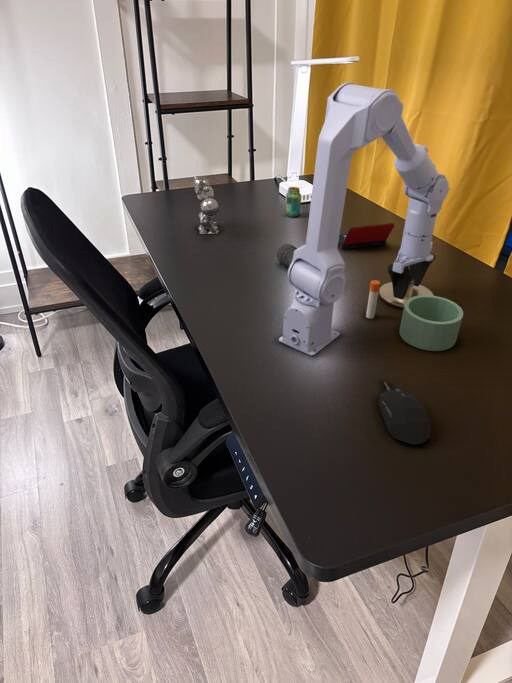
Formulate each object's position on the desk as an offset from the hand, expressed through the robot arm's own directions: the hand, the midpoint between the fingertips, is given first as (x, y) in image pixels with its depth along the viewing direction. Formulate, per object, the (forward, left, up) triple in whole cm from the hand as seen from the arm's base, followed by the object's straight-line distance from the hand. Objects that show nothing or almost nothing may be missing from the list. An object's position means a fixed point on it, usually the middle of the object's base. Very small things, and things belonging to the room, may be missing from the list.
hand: (406, 291), depth 109 cm
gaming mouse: (-35, -16, -2) cm, 39 cm away
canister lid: (0, 0, -1) cm, 1 cm away
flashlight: (-6, +24, -2) cm, 25 cm away
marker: (-12, +2, -2) cm, 12 cm away
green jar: (+25, +49, -1) cm, 55 cm away
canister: (-11, -10, -2) cm, 15 cm away
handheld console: (+19, +22, -2) cm, 29 cm away
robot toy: (-1, +59, -2) cm, 59 cm away
